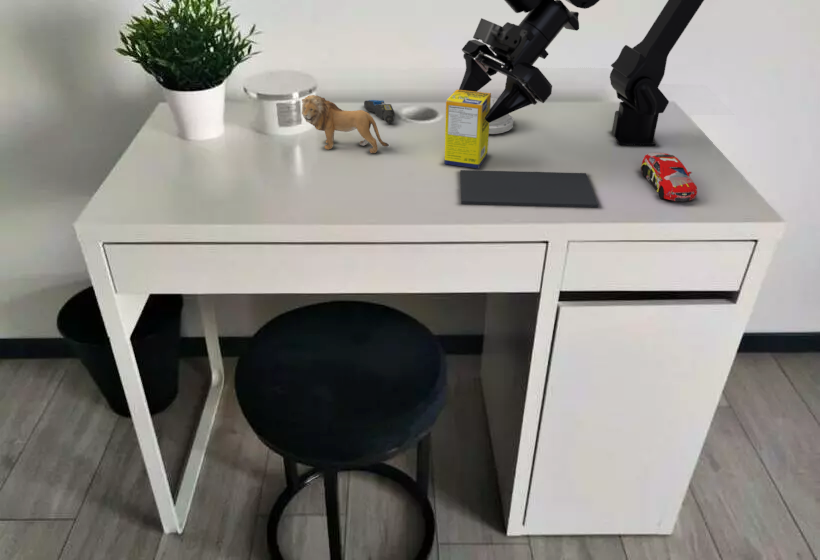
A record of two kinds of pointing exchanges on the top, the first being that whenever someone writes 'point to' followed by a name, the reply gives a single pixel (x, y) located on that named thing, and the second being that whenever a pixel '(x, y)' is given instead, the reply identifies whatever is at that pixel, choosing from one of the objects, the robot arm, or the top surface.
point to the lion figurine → (339, 121)
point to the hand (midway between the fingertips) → (471, 111)
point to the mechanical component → (500, 122)
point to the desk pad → (526, 188)
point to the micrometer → (380, 109)
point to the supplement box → (467, 128)
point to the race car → (668, 177)
